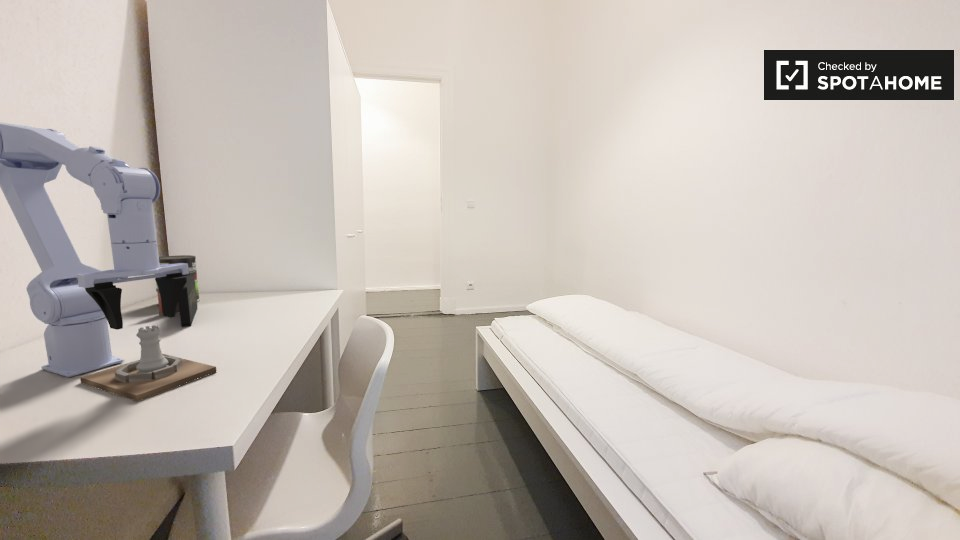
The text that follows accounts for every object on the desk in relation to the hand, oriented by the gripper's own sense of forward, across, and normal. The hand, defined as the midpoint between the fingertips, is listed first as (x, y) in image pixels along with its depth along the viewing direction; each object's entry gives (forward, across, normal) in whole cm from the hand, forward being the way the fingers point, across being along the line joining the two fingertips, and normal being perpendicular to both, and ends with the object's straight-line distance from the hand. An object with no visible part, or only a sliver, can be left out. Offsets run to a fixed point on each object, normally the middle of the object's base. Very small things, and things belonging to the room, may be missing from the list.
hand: (144, 322), depth 66 cm
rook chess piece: (+9, 0, -1) cm, 9 cm away
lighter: (+10, +28, +43) cm, 52 cm away
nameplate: (+10, +27, +34) cm, 45 cm away
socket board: (+10, 0, 0) cm, 10 cm away
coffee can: (+10, +36, +54) cm, 66 cm away
